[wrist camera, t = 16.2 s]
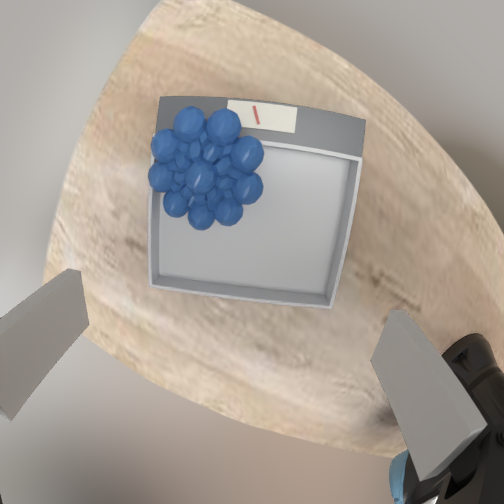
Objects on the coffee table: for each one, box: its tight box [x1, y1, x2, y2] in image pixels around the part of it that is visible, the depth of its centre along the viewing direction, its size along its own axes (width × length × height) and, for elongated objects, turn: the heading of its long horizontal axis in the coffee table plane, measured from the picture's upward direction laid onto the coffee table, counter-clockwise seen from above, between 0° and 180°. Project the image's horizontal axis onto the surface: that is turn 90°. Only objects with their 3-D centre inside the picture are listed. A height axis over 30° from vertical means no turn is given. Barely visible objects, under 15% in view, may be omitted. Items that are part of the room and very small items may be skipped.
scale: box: [148, 96, 366, 309], centre depth 28 cm, size 22×21×6 cm
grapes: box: [148, 106, 264, 231], centre depth 24 cm, size 12×7×12 cm
